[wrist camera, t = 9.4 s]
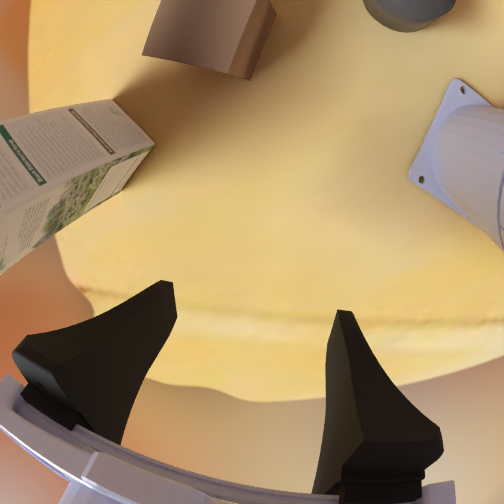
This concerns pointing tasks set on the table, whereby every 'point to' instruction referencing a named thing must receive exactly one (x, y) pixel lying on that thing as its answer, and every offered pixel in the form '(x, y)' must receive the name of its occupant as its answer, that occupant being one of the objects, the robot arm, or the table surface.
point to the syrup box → (62, 169)
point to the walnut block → (211, 33)
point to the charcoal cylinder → (407, 12)
